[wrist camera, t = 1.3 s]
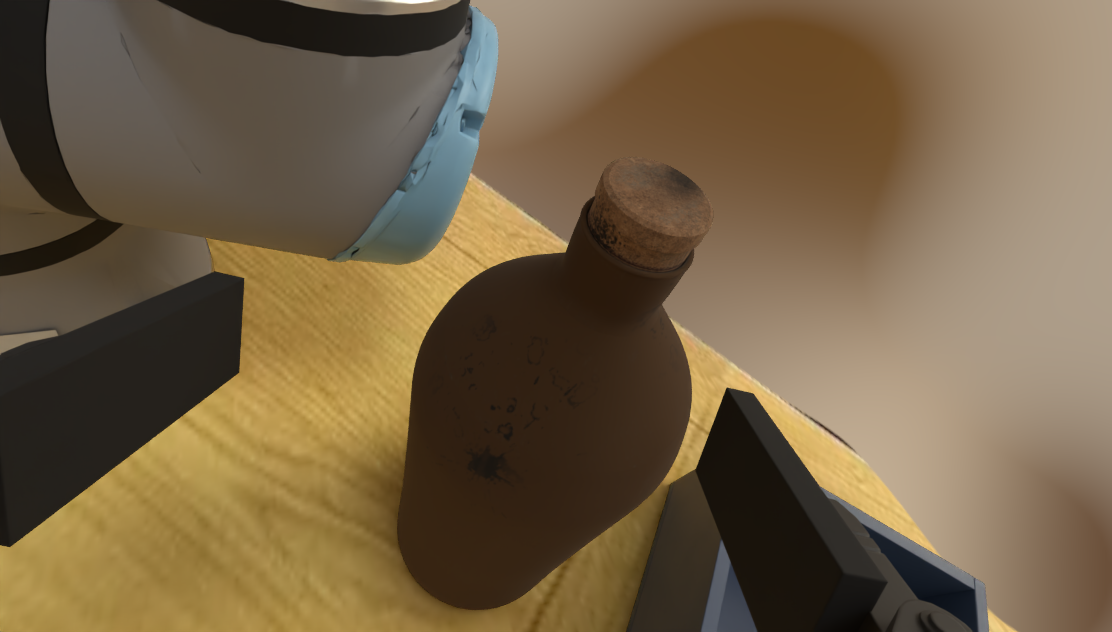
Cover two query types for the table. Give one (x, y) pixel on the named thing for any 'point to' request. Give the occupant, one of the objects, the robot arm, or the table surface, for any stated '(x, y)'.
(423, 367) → the brown bottle
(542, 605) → the table surface
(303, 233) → the robot arm
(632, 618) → the blue-grey hollow square box
